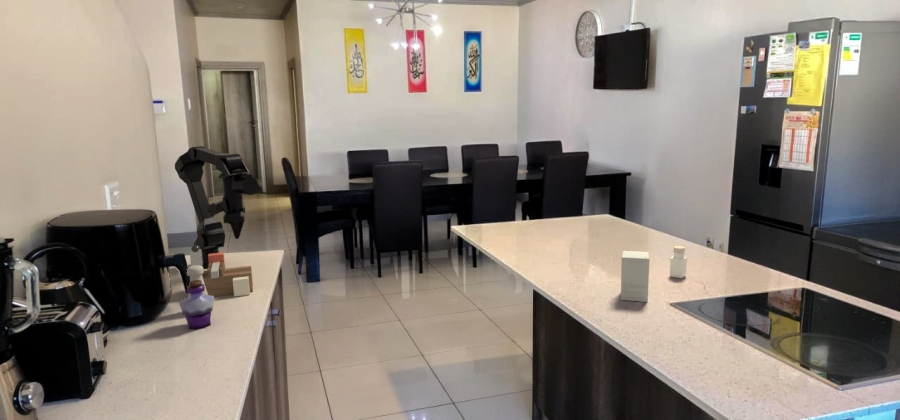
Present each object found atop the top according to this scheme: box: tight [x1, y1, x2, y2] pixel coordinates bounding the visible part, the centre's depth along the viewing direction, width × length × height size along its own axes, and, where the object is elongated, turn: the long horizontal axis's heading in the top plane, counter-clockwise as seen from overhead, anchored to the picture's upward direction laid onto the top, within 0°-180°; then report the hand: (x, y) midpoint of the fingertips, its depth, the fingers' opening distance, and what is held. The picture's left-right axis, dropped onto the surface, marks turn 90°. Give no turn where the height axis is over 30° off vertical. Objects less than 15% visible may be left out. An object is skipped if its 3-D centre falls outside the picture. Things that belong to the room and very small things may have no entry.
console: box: [203, 262, 254, 297], centre depth 176 cm, size 8×18×8 cm, turn 108°
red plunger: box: [208, 252, 226, 278], centre depth 175 cm, size 13×4×6 cm, turn 18°
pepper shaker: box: [669, 245, 688, 279], centre depth 181 cm, size 4×4×10 cm
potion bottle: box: [179, 280, 215, 331], centre depth 149 cm, size 9×9×12 cm
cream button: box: [233, 276, 251, 297], centre depth 173 cm, size 2×4×5 cm, turn 108°
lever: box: [189, 244, 203, 277], centre depth 171 cm, size 2×3×10 cm
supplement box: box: [620, 250, 650, 303], centre depth 163 cm, size 7×7×13 cm
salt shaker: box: [186, 265, 208, 298], centre depth 159 cm, size 6×6×13 cm
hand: (237, 238), depth 193 cm, fingers closed
